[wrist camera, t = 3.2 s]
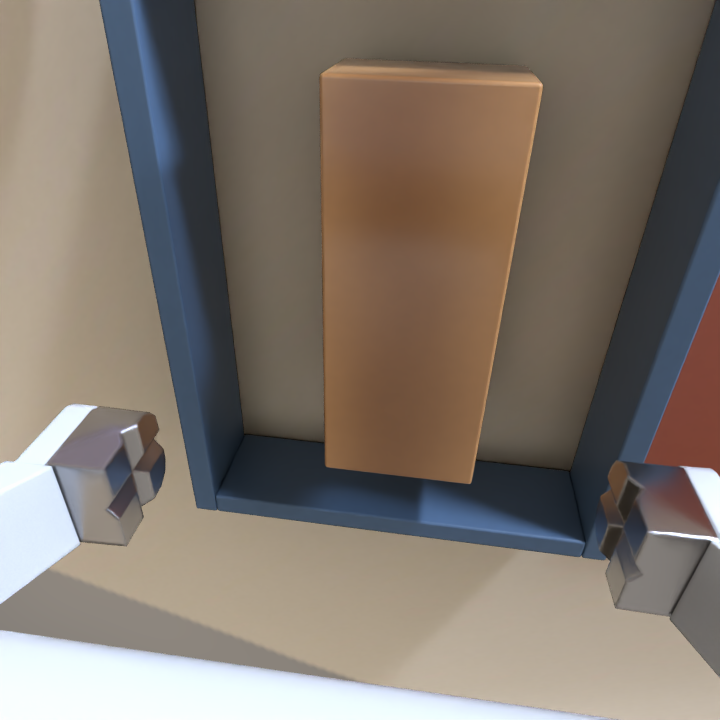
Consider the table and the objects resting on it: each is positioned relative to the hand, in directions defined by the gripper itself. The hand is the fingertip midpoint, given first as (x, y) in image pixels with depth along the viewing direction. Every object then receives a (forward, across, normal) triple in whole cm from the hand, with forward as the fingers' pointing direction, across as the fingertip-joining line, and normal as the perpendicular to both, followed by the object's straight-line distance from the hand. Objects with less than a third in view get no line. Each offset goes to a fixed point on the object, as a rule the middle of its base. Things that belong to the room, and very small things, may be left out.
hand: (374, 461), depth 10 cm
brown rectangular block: (+10, 0, 0) cm, 10 cm away
